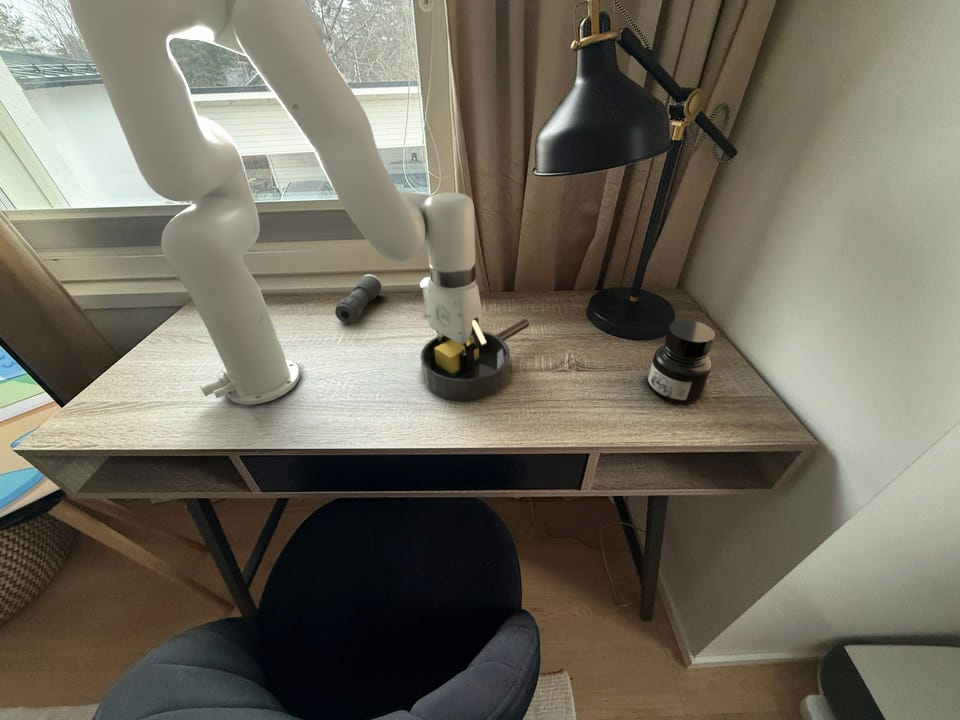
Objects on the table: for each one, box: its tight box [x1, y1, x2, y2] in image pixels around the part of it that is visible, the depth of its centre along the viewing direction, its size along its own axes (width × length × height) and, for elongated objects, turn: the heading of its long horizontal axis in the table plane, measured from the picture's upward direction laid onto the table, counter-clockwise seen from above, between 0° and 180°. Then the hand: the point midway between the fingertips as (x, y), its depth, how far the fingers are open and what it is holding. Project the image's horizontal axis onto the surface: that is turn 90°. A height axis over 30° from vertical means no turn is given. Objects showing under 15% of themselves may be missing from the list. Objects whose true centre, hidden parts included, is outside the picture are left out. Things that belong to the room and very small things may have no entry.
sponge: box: [434, 339, 479, 377], centre depth 79 cm, size 7×5×4 cm, turn 135°
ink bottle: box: [647, 319, 716, 405], centre depth 71 cm, size 10×9×12 cm
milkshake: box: [419, 276, 430, 318], centre depth 94 cm, size 4×5×10 cm
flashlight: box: [334, 274, 383, 325], centre depth 99 cm, size 15×5×5 cm, turn 169°
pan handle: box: [494, 318, 530, 342], centre depth 85 cm, size 9×2×2 cm, turn 135°
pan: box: [419, 330, 511, 402], centre depth 78 cm, size 16×16×4 cm
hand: (457, 361), depth 80 cm, fingers closed on sponge, 4 cm apart
